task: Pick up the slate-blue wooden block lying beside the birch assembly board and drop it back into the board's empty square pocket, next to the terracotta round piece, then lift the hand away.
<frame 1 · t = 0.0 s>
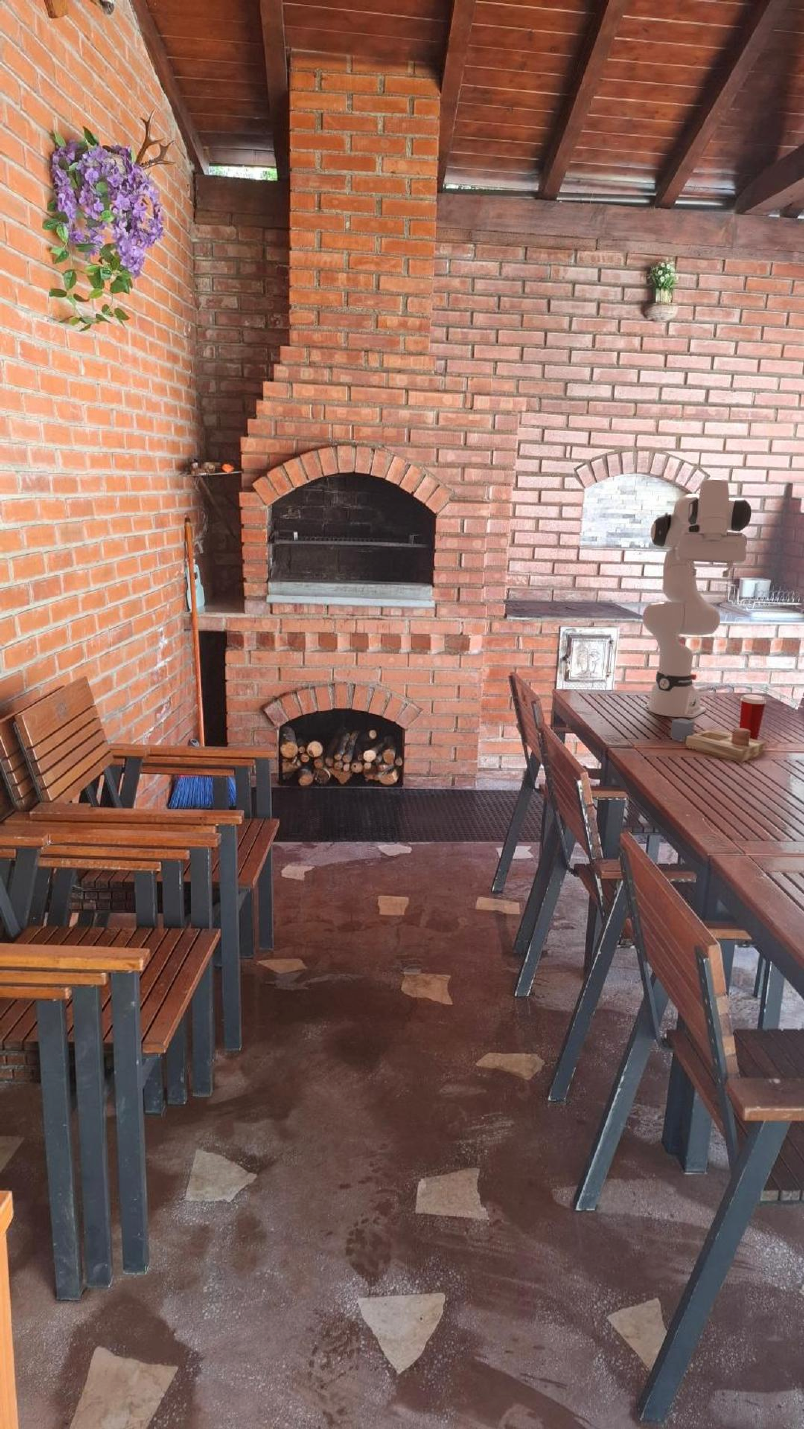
hand: (709, 576, 274), 52 cm above the table, tool tilted 20°, fingers open, 8 cm apart
paper cup: (747, 739, 294), on the table
slate block: (681, 739, 291), on the table
assembly board: (724, 750, 280), on the table
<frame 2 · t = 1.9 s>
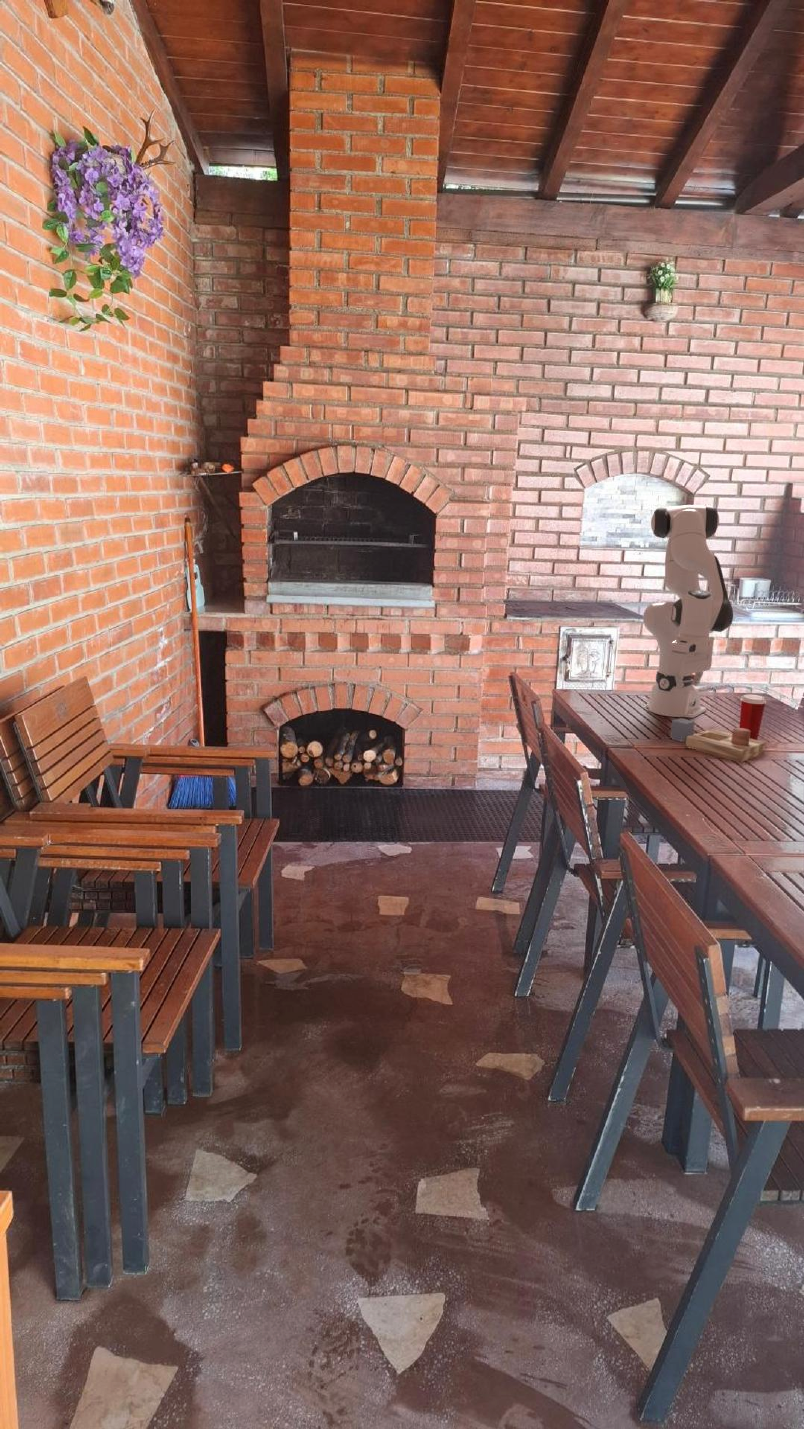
hand: (687, 687, 286), 17 cm above the table, tool pointing down, fingers open, 8 cm apart
nothing on the table moved.
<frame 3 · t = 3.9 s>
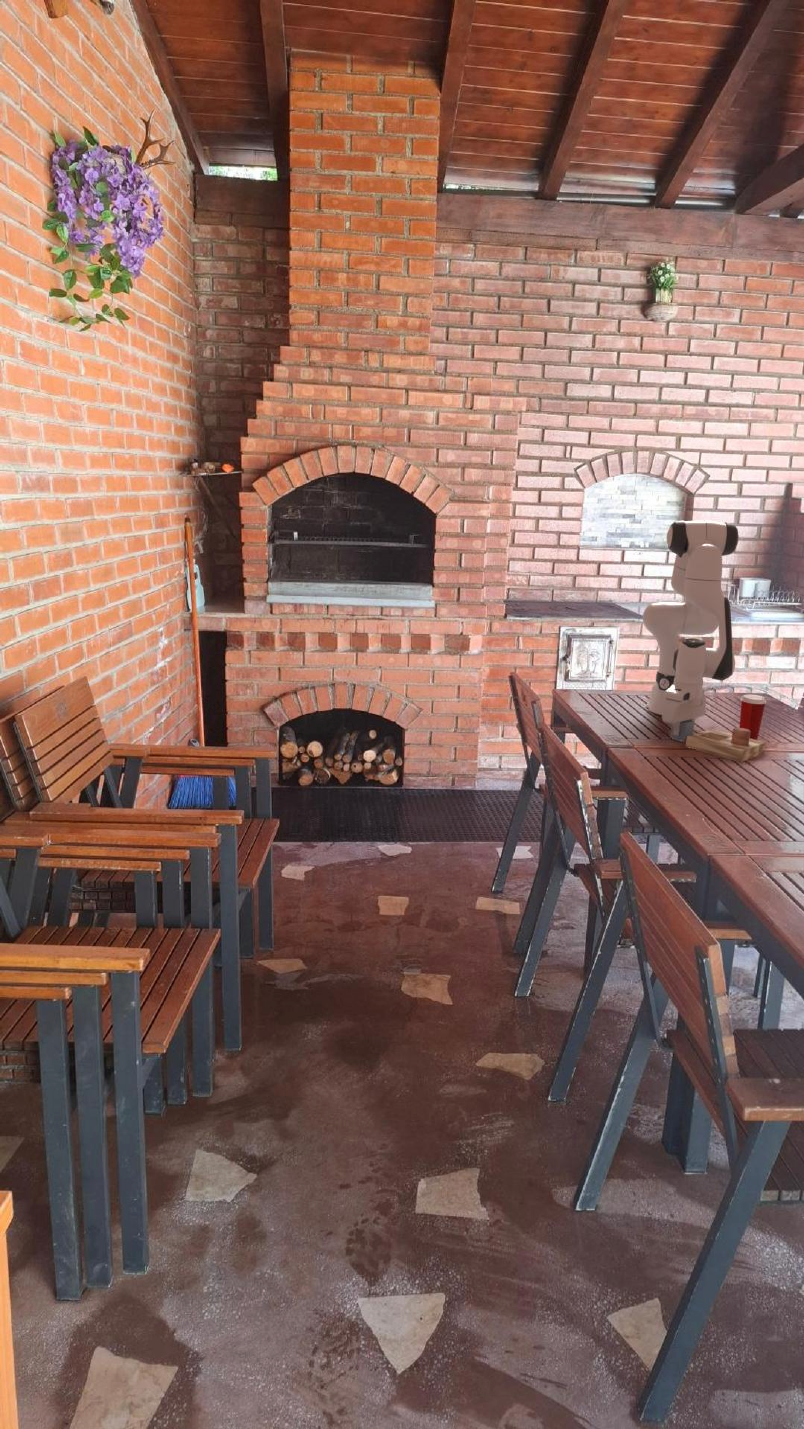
hand: (681, 733, 290), 2 cm above the table, tool pointing down, fingers closed on slate block, 5 cm apart
slate block: (681, 738, 291), on the table, touching gripper
everything else where it was.
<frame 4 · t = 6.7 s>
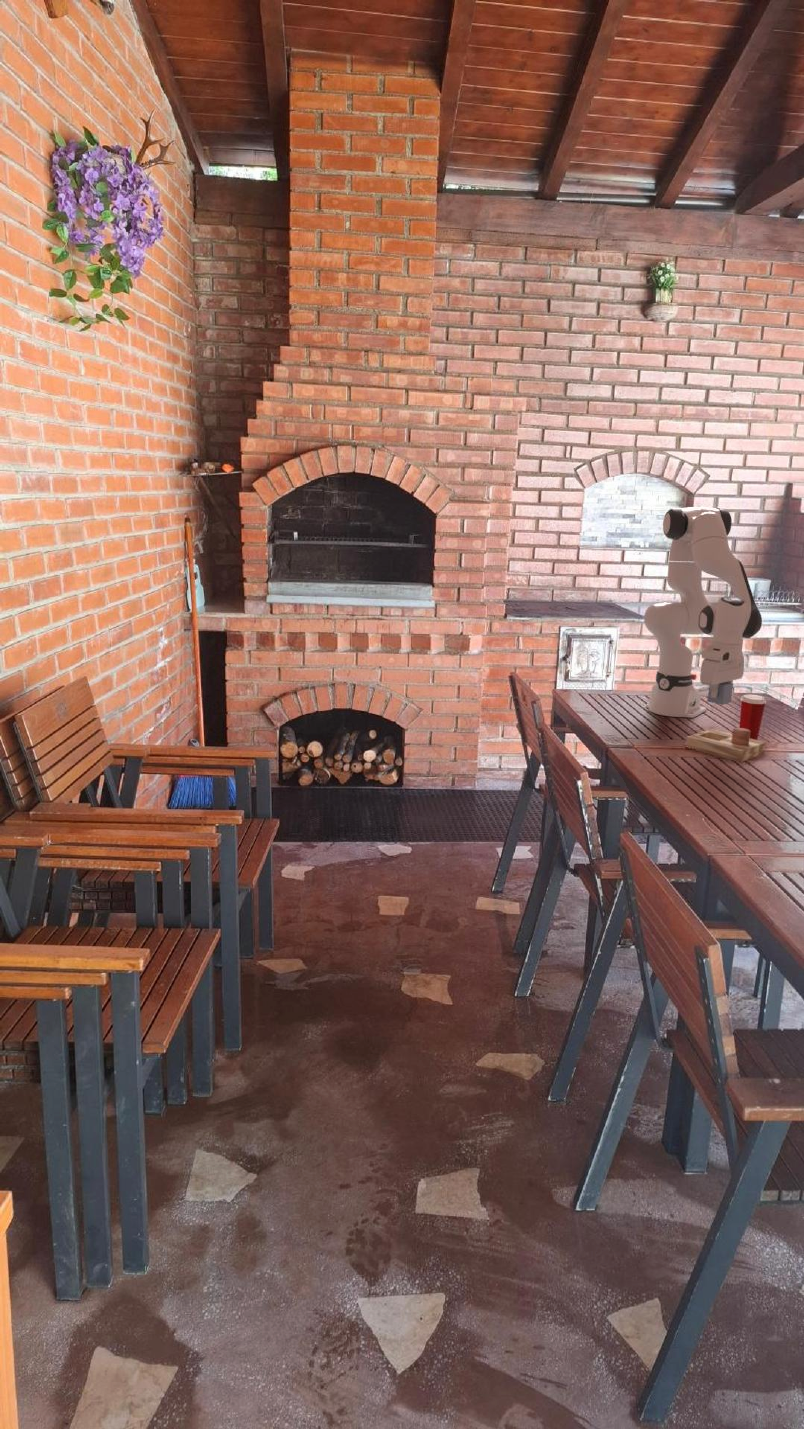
hand: (719, 696, 279), 16 cm above the table, tool pointing down, fingers closed on slate block, 5 cm apart
slate block: (718, 702, 279), point 14 cm above the table, touching gripper
everything else where it was.
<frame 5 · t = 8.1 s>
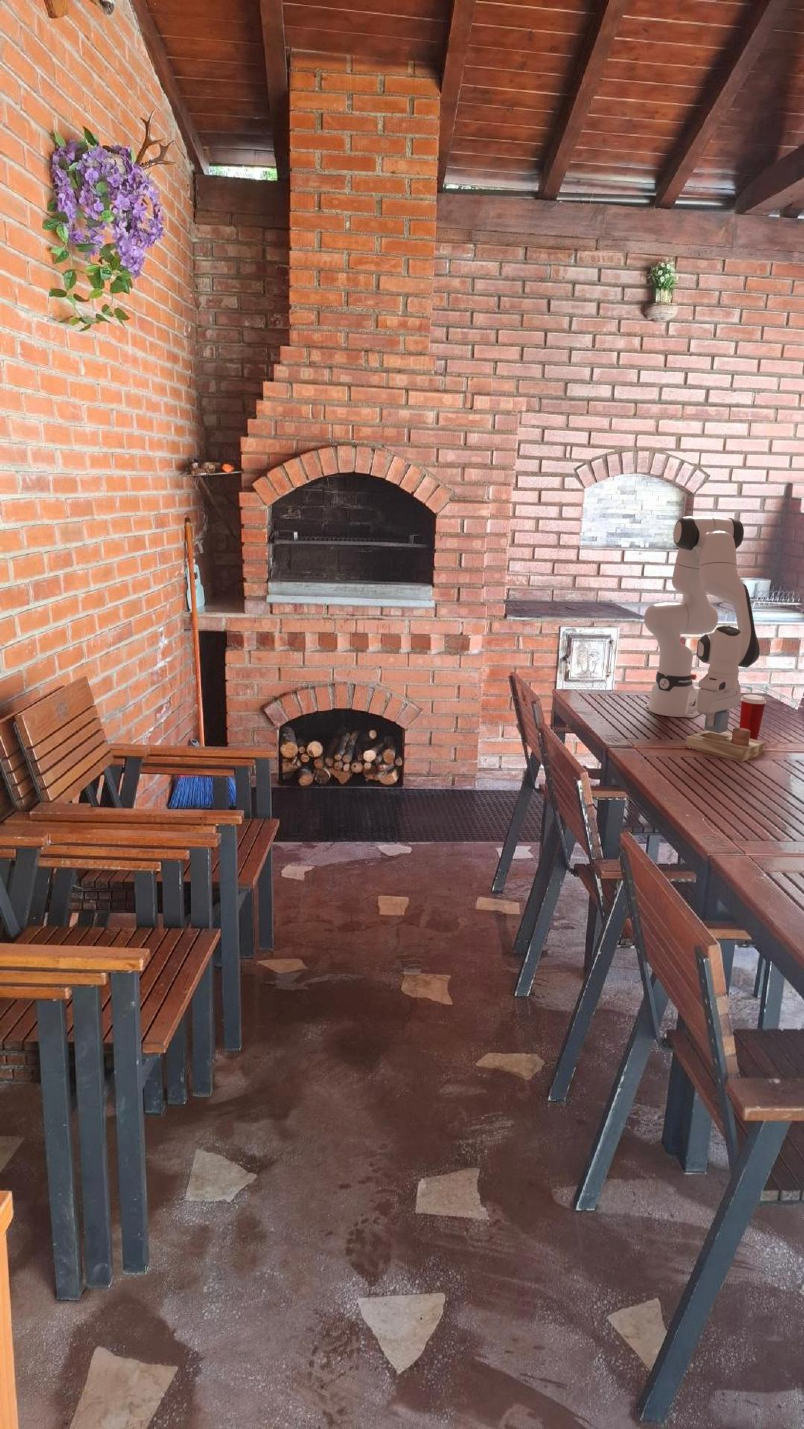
hand: (716, 724, 281), 7 cm above the table, tool pointing down, fingers closed on slate block, 5 cm apart
slate block: (715, 730, 281), point 6 cm above the table, touching gripper
everything else where it was.
when the fingers open (5 cm above the table, at t = 9.4 s): slate block drops 2 cm, resting on assembly board.
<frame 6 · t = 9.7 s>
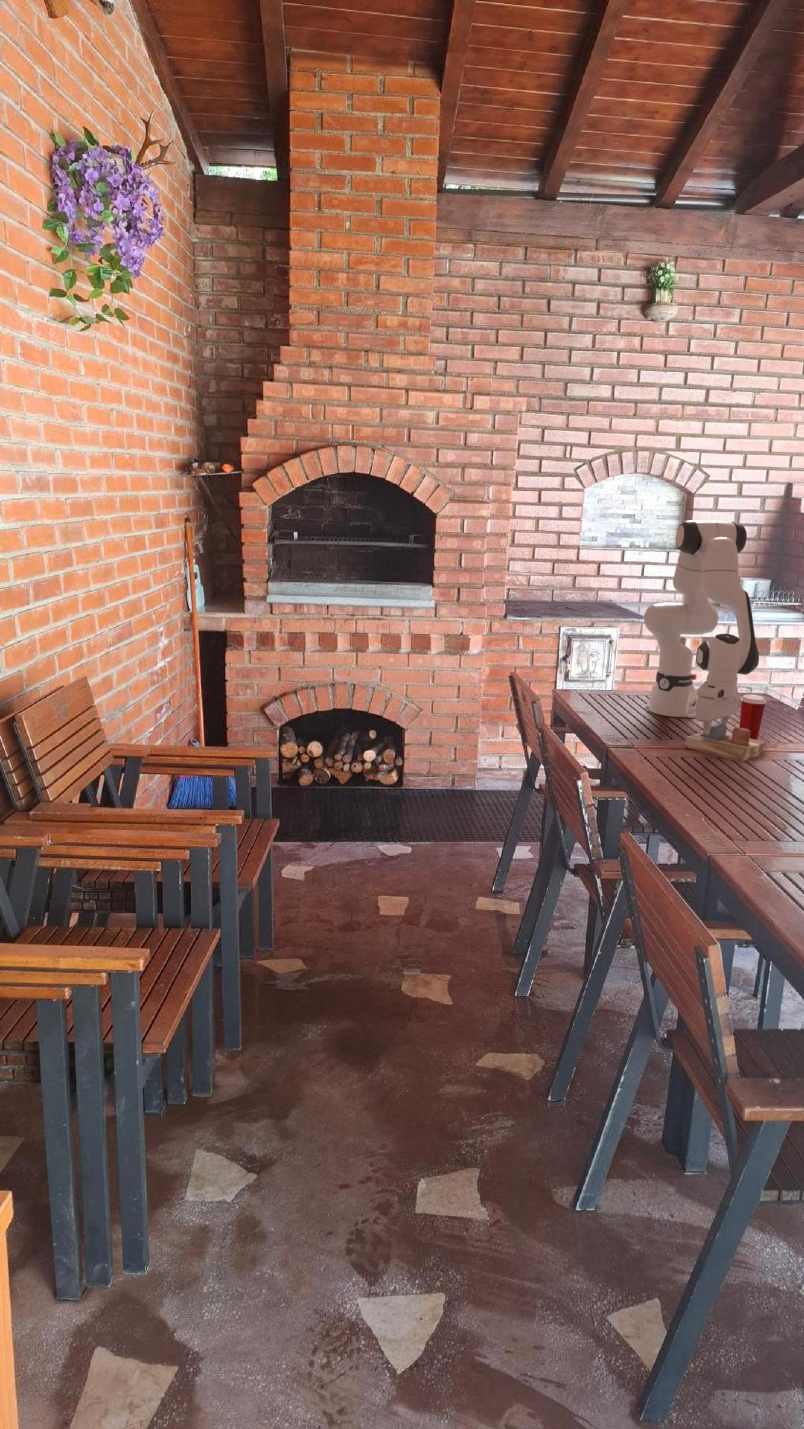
hand: (714, 731, 282), 5 cm above the table, tool pointing down, fingers open, 7 cm apart
slate block: (713, 744, 283), point 1 cm above the table, touching assembly board
everything else where it was.
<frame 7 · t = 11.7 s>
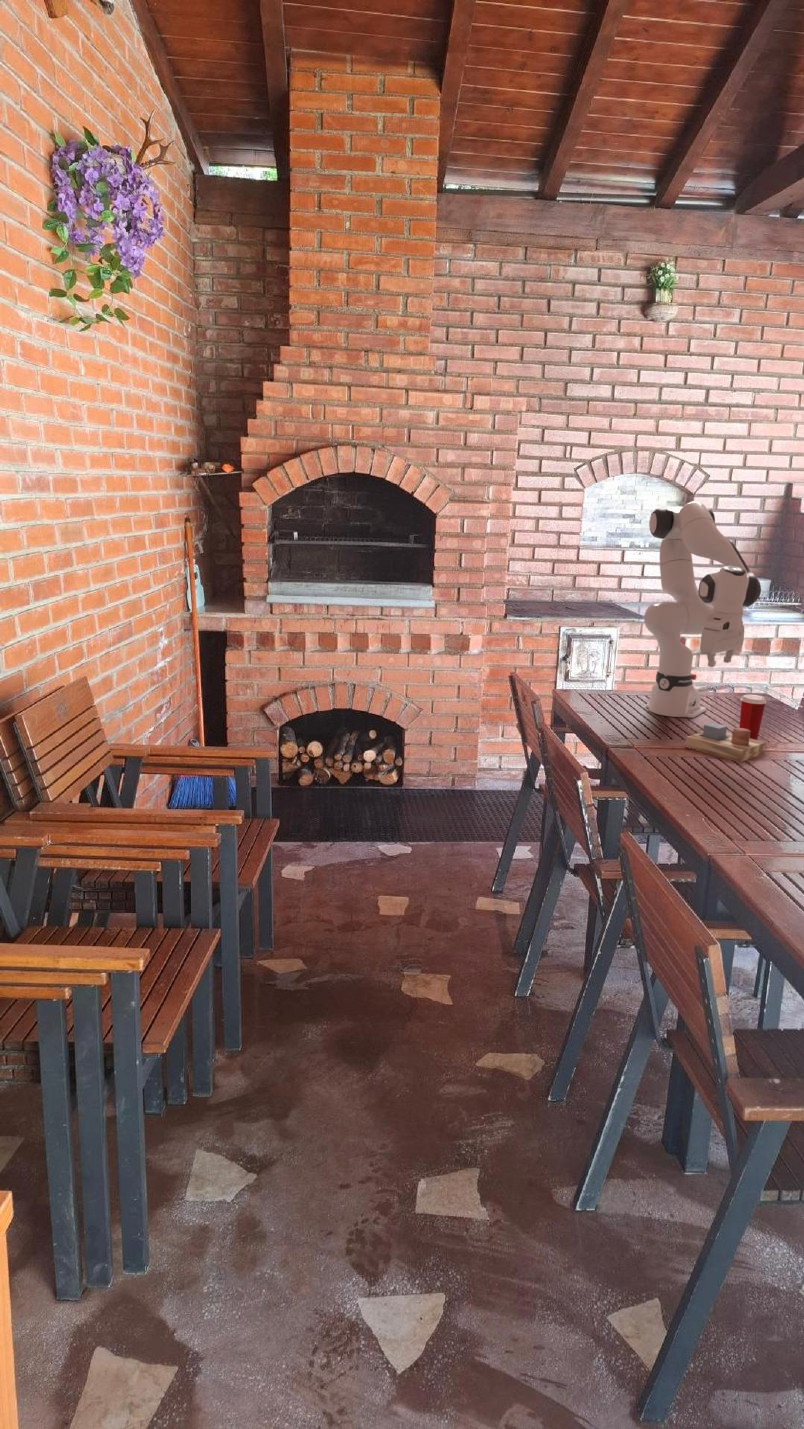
hand: (719, 664, 283), 25 cm above the table, tool pointing down, fingers open, 8 cm apart
nothing on the table moved.
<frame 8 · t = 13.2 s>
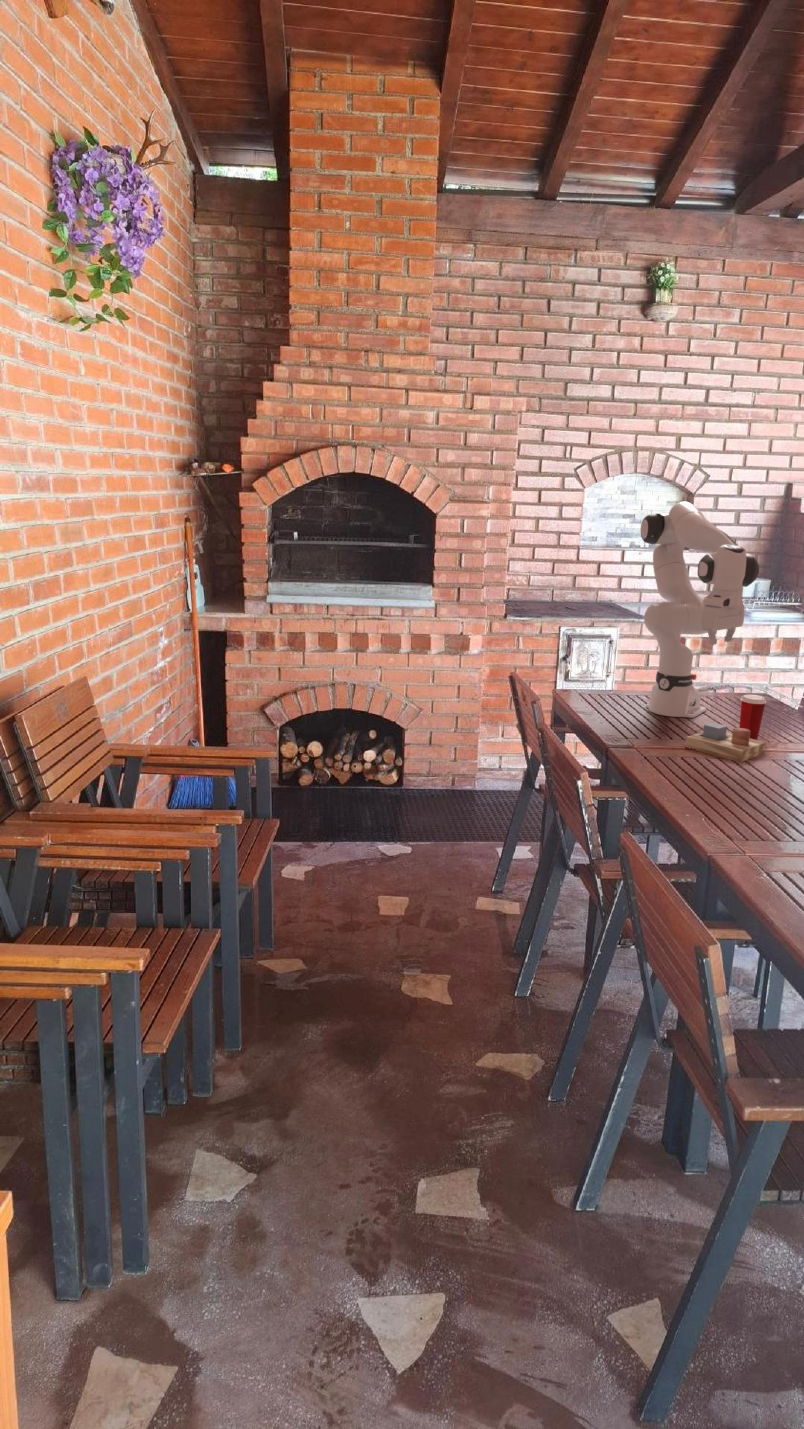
hand: (720, 643, 284), 31 cm above the table, tool pointing down, fingers open, 8 cm apart
nothing on the table moved.
at the end: slate block 0.0 cm from the target spot on the assembly board, point 1.0 cm above the assembly board's base; slate block tilted 0°; the gripper is holding nothing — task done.
